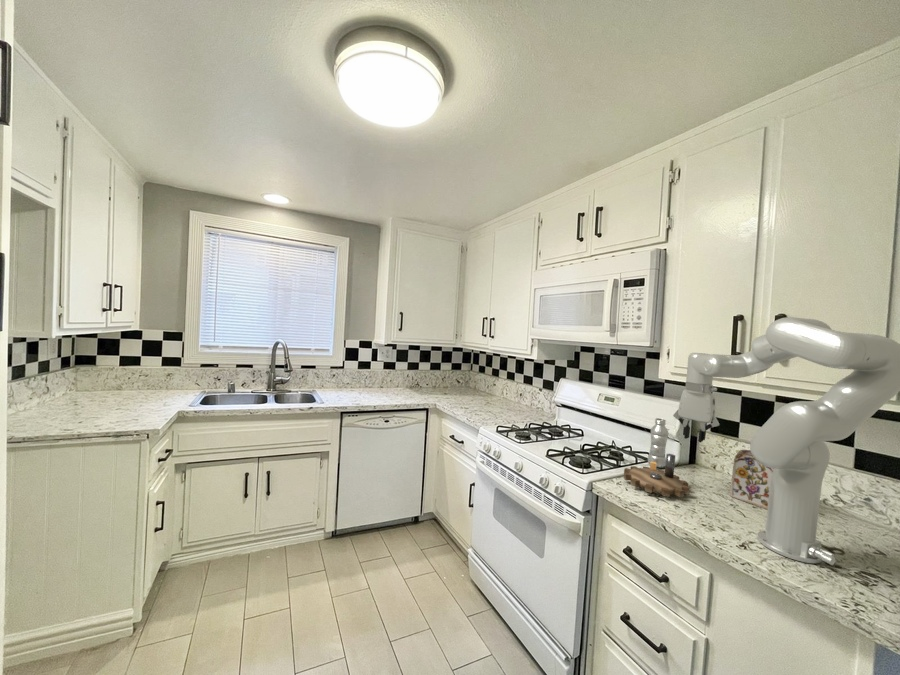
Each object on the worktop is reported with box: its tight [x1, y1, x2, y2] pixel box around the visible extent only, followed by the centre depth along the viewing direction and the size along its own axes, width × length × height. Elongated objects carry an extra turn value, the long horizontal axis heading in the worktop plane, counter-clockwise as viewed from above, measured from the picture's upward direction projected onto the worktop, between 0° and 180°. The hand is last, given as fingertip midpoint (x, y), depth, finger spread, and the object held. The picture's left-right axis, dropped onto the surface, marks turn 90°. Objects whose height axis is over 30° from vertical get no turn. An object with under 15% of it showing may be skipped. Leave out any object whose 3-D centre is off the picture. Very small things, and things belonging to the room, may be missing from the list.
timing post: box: [649, 461, 657, 470], centre depth 139 cm, size 2×2×5 cm
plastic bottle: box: [647, 417, 669, 468], centre depth 149 cm, size 6×7×20 cm
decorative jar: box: [729, 449, 774, 511], centre depth 123 cm, size 12×12×18 cm
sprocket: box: [623, 453, 691, 498], centre depth 128 cm, size 21×21×10 cm
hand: (693, 439), depth 125 cm, fingers open, 3 cm apart
